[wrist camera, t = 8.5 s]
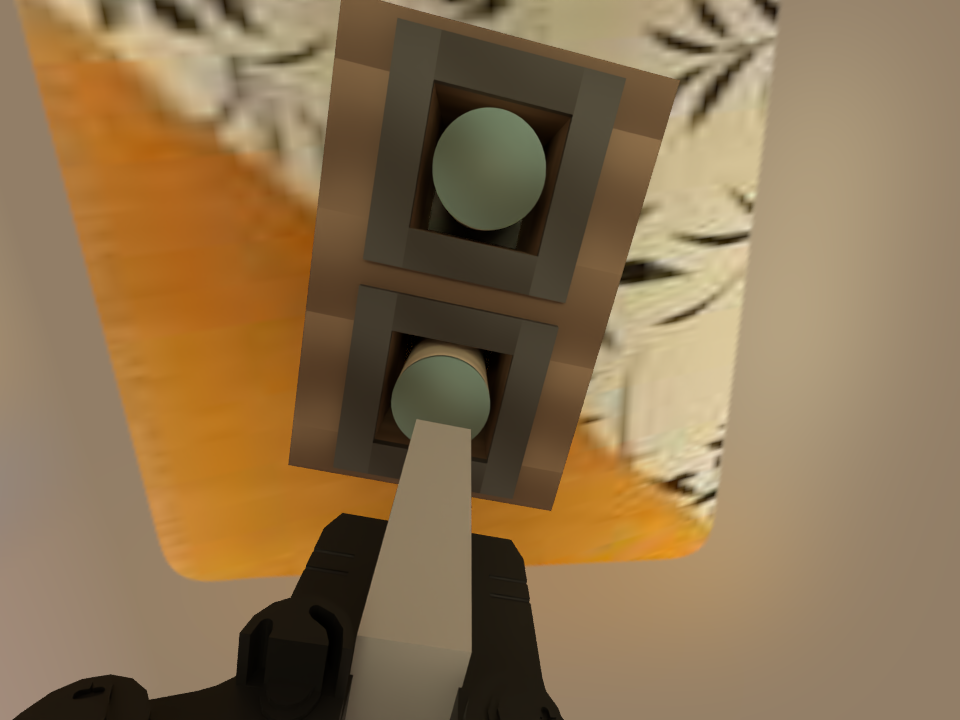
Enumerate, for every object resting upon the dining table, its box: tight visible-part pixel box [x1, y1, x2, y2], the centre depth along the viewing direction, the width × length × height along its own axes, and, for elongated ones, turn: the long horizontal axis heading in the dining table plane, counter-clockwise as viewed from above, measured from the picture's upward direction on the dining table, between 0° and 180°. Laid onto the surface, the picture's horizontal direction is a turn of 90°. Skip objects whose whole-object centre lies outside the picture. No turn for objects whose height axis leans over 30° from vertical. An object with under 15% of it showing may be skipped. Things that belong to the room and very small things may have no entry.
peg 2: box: [391, 336, 490, 440], centre depth 22 cm, size 4×4×8 cm
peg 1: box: [433, 107, 546, 231], centre depth 20 cm, size 4×4×8 cm
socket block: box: [288, 0, 680, 511], centre depth 21 cm, size 18×12×8 cm, turn 168°
